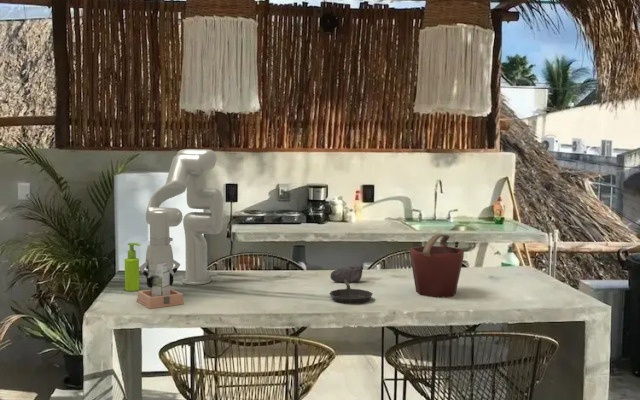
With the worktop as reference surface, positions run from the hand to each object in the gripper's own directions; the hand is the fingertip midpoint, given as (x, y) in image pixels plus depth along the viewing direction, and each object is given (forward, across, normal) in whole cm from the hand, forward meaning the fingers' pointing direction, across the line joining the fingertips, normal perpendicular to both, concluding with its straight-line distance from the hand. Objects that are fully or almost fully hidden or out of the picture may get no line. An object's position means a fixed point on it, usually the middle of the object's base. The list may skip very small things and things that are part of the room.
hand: (160, 285), depth 271 cm
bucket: (+7, -106, +45) cm, 115 cm away
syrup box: (+5, 0, 0) cm, 5 cm away
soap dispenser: (+7, +1, -28) cm, 29 cm away
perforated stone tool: (+7, -86, +7) cm, 86 cm away
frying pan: (+7, -71, +29) cm, 77 cm away
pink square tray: (+7, 0, 0) cm, 7 cm away
